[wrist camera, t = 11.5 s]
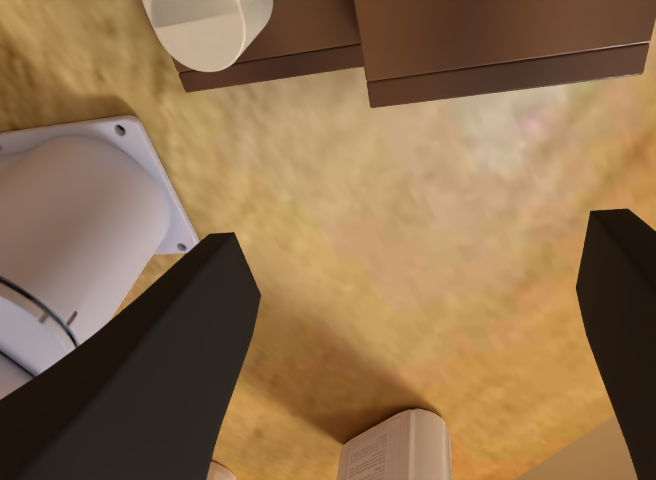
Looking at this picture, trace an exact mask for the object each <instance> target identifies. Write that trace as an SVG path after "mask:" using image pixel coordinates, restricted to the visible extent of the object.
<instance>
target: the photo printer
mask: <svg viewBox="0 0 656 480" xmlns="http://www.w3.org/2000/svg"><path fill="white" fill-rule="evenodd" d="M337 480H452V467H451V443H450V432H449V428H448V427H446V426H445V422H444V420H443V419H442V418H441V417H440V416H438V415H437V414H435V413H433V412H430V411H427V410H423V409H418V408H417V409H414V410H410V409H409V410H406V411H403V412H401V413H398V414H396V415H394V416H392V417H390V418H389V419H387V420H385V421H383V422H381V423H380V424H378V425H376V426H374V427H372V428H370V429H369V430H367V431H365V432H363V433H362V434H360V435H358V436H356V437H355V438H353V439H351V440H350V441H348V442H347V443H346V444H345V445H344V446H343V448H342V450H341V454H340V460H339V468H338V475H337Z"/></svg>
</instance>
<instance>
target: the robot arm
mask: <svg viewBox="0 0 656 480" xmlns="http://www.w3.org/2000/svg"><path fill="white" fill-rule="evenodd" d="M118 125H120V126H122V127H123V128H124V130H125V131H123V130H121V129H120V128H119V127H118ZM182 244H183V245H182ZM184 245H185V246H184ZM180 253H187V254H185V255H184V256H183V257H182V258H181V259H180V260H179V261H178V262H177V263H175V264H174V265H173V266H172V267H171V268H170V269H169V270H168V271H167V272H166V273H165V274H163V275H162V276H161V277H160V278H159V279H158V280H157V281H156V282H155V283H153V284H152V285H151V286H150V287H149V288H148V289H147V290H146V291H145V292H143V293H142V294H141V295H140V296H139V297H138V298H137V299H136V300H134V301H133V302H132V303H131V304H130V305H128V306H127V307H126V308H125V309H124V310H122V311H121V312H120V313H119V314H118V315H116V316H115V317H114V318H113V319H112V320H111V318H112V317H113V315H114V314H115V312H116V311H117V309H118V308H119V306H120V304H121V303H122V301H123V300H124V298H125V297H126V295H127V294H128V292H129V291H130V289H131V288H132V286H133V285H134V283H135V282H136V280H137V279H138V277H139V275H140V274H141V272H142V271H143V269H144V268H145V266H146V265H147V263H148V262H149V260H150V259H151V257H152V256H153V255H160V254H180ZM576 291H577V296H578V301H579V305H580V310H581V315H582V319H583V323H584V327H585V332H586V336H587V338H588V341H589V344H590V347H591V350H592V352H593V355H594V358H595V361H596V363H597V366H598V369H599V371H600V374H601V377H602V380H603V382H604V385H605V388H606V390H607V393H608V396H609V398H610V401H611V404H612V406H613V409H614V412H615V414H616V417H617V420H618V422H619V424H620V428H621V430H622V433H623V436H624V438H625V441H626V444H627V446H628V449H629V452H630V456H631V459H632V462H633V465H634V468H635V471H636V474H637V478H638V480H656V231H655V230H653V229H652V228H651V227H650V226H649V225H647V224H646V223H645V222H644V221H643V220H641V219H640V218H639V217H638V216H636V215H635V214H634V213H633V212H631V211H630V210H629V209H613V210H597V211H590V216H589V221H588V227H587V232H586V237H585V242H584V248H583V253H582V258H581V263H580V269H579V274H578V279H577V285H576ZM260 298H261V294H260V292H259V289H258V287H257V285H256V282H255V280H254V278H253V275H252V273H251V271H250V268H249V266H248V263H247V261H246V259H245V256H244V254H243V252H242V249H241V247H240V245H239V242H238V240H237V238H236V235H235V233H234V232H232V233H215V234H209V235H208V236H206V237H205V238H204V239H203V240H201V241H200V240H199V238H198V236H197V234H196V232H195V230H194V228H193V226H192V224H191V222H190V220H189V218H188V216H187V214H186V212H185V210H184V208H183V206H182V204H181V202H180V200H179V198H178V196H177V194H176V192H175V190H174V188H173V186H172V184H171V182H170V179H169V177H168V175H167V173H166V171H165V169H164V167H163V165H162V163H161V161H160V159H159V157H158V155H157V153H156V151H155V149H154V147H153V145H152V143H151V141H150V139H149V137H148V135H147V133H146V131H145V129H144V127H143V125H142V123H141V122H140V120H139V119H137V118H136V117H134V116H132V115H123V116H116V117H109V118H101V119H94V120H87V121H80V122H73V123H65V124H58V125H51V126H44V127H37V128H30V129H22V130H15V131H8V132H1V133H0V480H207V476H208V472H209V468H210V463H211V459H212V455H213V451H214V447H215V444H216V440H217V437H218V434H219V431H220V427H221V424H222V421H223V419H224V416H225V413H226V410H227V407H228V405H229V402H230V399H231V396H232V393H233V391H234V388H235V385H236V382H237V379H238V377H239V374H240V371H241V368H242V365H243V362H244V360H245V357H246V354H247V351H248V348H249V345H250V342H251V339H252V336H253V332H254V328H255V323H256V319H257V314H258V308H259V303H260ZM110 320H111V321H110Z"/></svg>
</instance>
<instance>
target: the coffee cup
mask: <svg viewBox="0 0 656 480" xmlns="http://www.w3.org/2000/svg"><path fill="white" fill-rule="evenodd" d="M207 480H236V478H235V476H234V474H233V473H232V472H231V471H230V470H229V469H227V468H226V467H224V466H222V465H220V464H218V463H215V462H212V461H211V463H210V468H209V472H208V476H207Z"/></svg>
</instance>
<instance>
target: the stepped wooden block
mask: <svg viewBox="0 0 656 480" xmlns="http://www.w3.org/2000/svg"><path fill="white" fill-rule="evenodd" d="M655 18H656V0H273V8H272V13H271V16H270V18H269V21H268V22H267V24H266V26H265V27H264V28H263V29H262V30H261V32H260V33H259V34H258V35H257V36H256V37H255V39H254V40H253V41H252V42H251V43H250V44H249V46H248V47H247V48H246V49H245V50H244V51H243V53H242V54H241V55H240V56H239V57H238V58H237V60H236V61H235V62H234V63H233V64H231V65H230V66H229V67H227V68H225V69H223V70H220V71H215V72H203V71H197V70H194V69H191V68H189V67H187V66H185V65H183V64H181V63H180V62H178V61H177V60H176V59H174V58H173V57H172V56H171V57H172V59H173V62H174V64H175V67H176V69H177V71H178V72H180V73H179V77H180V79H181V82H182V84H183V87H184V89H185V91H186V92H194V91H201V90H208V89H215V88H222V87H228V86H235V85H242V84H249V83H255V82H262V81H269V80H276V79H282V78H289V77H296V76H303V75H310V74H316V73H323V72H330V71H337V70H343V69H350V68H357V67H364V69H365V76H366V80H367V88H368V95H369V101H370V106H371V108H376V107H384V106H392V105H400V104H408V103H417V102H425V101H433V100H441V99H449V98H457V97H465V96H473V95H481V94H489V93H497V92H505V91H513V90H521V89H529V88H537V87H545V86H553V85H562V84H570V83H578V82H586V81H594V80H602V79H610V78H618V77H626V76H634V75H641V74H642V73H643V71H644V66H645V62H646V57H647V53H648V48H649V43H648V42H650V40H651V36H652V31H653V27H654V22H655Z"/></svg>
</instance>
